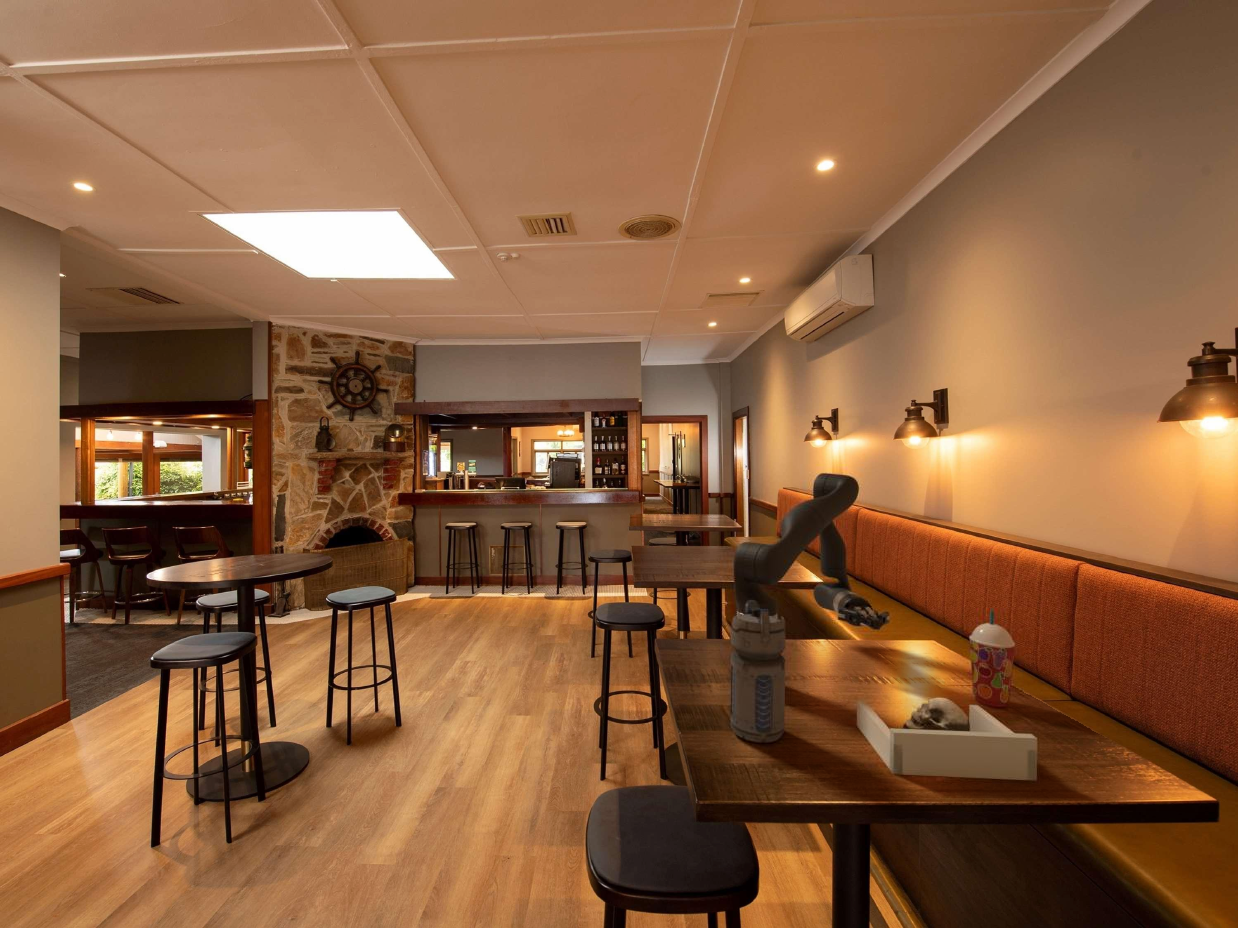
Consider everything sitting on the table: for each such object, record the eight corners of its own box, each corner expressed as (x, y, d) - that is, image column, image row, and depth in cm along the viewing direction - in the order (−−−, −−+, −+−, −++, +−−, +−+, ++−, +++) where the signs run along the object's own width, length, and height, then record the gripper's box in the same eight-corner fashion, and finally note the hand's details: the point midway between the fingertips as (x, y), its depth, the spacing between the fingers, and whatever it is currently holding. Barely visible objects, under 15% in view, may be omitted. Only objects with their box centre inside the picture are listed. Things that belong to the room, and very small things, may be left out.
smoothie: (1000, 695, 128) (1001, 607, 128) (1022, 711, 120) (1024, 617, 120) (961, 693, 129) (962, 605, 129) (981, 709, 120) (982, 615, 120)
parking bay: (893, 773, 95) (893, 732, 95) (856, 725, 113) (857, 690, 113) (1036, 780, 94) (1037, 738, 93) (977, 730, 111) (977, 694, 111)
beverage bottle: (772, 715, 117) (774, 594, 117) (792, 748, 103) (794, 611, 103) (723, 715, 117) (724, 594, 116) (737, 747, 103) (738, 611, 103)
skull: (891, 733, 107) (903, 683, 112) (906, 755, 113) (917, 707, 118) (963, 754, 99) (972, 699, 104) (976, 778, 104) (984, 724, 109)
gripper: (826, 592, 150) (848, 607, 132) (878, 594, 149) (906, 610, 131) (825, 620, 149) (847, 639, 132) (877, 623, 148) (905, 643, 131)
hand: (876, 625), depth 132 cm, fingers closed
